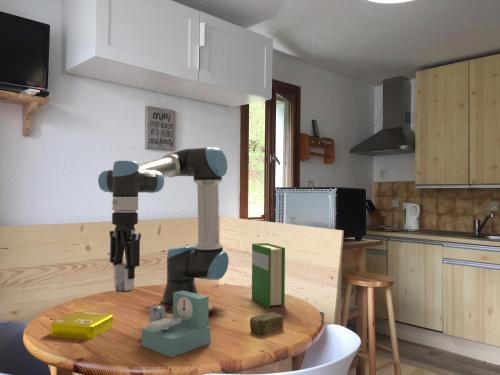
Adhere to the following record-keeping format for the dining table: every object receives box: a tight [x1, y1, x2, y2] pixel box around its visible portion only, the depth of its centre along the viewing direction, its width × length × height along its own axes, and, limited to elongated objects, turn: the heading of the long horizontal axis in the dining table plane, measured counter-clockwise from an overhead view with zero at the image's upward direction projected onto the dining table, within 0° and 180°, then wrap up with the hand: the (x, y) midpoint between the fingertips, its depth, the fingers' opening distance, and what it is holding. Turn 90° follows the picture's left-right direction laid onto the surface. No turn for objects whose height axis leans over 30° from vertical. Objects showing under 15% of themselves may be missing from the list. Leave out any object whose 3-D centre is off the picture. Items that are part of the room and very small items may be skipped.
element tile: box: [49, 311, 114, 340], centre depth 137 cm, size 15×15×5 cm
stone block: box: [249, 311, 284, 336], centre depth 140 cm, size 6×12×5 cm, turn 132°
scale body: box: [141, 291, 211, 358], centre depth 125 cm, size 15×14×14 cm
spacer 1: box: [114, 262, 133, 294], centre depth 126 cm, size 5×5×8 cm
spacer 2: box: [149, 304, 166, 322], centre depth 137 cm, size 5×5×8 cm
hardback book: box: [251, 242, 286, 309], centre depth 177 cm, size 18×7×24 cm, turn 22°
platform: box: [148, 315, 182, 332], centre depth 122 cm, size 9×4×3 cm, turn 140°
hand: (123, 288), depth 126 cm, fingers closed on spacer 1, 5 cm apart
